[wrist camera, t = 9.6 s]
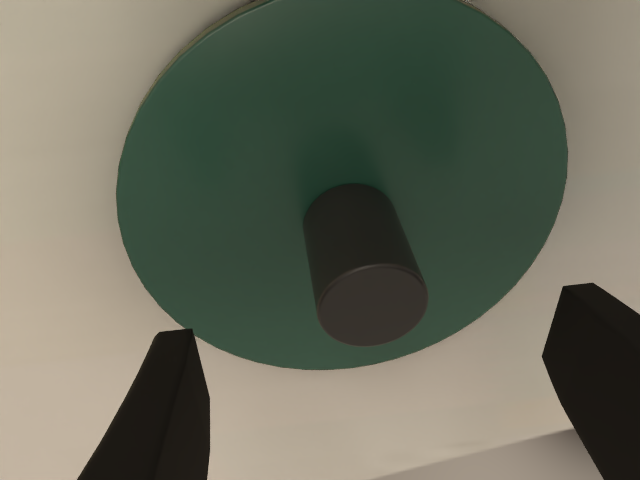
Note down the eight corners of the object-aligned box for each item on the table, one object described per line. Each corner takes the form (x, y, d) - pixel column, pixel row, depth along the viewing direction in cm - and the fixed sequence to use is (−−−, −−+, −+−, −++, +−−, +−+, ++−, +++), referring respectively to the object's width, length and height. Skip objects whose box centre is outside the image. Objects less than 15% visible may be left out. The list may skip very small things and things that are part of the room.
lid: (510, 324, 19) (570, 434, 15) (172, 363, 18) (157, 488, 15) (598, -46, 12) (742, 5, 9) (61, -11, 11) (-17, 61, 8)
